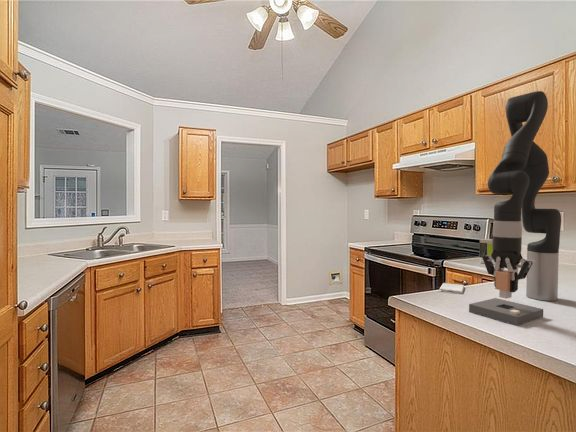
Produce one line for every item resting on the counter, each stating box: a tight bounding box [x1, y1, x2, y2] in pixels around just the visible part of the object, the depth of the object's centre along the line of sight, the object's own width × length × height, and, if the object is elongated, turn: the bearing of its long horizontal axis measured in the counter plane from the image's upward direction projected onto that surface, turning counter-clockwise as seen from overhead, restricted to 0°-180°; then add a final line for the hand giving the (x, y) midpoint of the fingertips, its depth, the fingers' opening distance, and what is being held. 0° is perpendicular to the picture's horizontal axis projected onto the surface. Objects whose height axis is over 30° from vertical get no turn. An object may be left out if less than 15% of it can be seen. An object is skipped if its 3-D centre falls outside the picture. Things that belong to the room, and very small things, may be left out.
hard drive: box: [438, 282, 465, 295], centre depth 133 cm, size 2×8×12 cm
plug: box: [494, 269, 513, 300], centre depth 101 cm, size 5×4×8 cm
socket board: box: [468, 297, 544, 327], centre depth 101 cm, size 15×14×3 cm
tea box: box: [479, 238, 496, 266], centre depth 195 cm, size 15×10×15 cm, turn 34°
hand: (505, 290), depth 101 cm, fingers closed on plug, 3 cm apart
